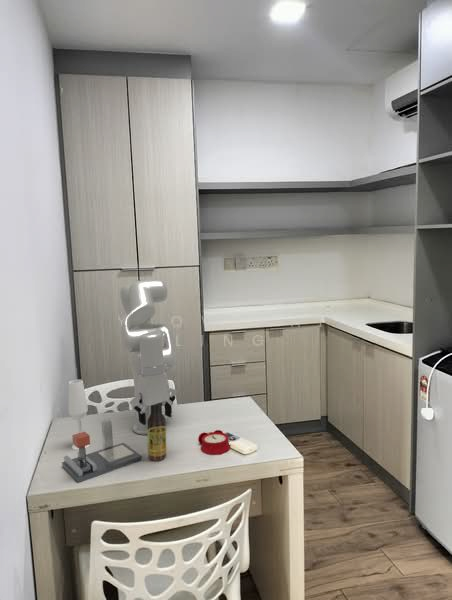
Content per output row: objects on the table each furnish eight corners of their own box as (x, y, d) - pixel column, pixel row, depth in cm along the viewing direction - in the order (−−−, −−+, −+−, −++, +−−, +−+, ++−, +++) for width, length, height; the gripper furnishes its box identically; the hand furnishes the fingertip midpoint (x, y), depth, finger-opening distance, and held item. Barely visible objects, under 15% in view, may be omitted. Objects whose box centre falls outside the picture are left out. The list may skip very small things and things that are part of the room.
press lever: (86, 464, 152) (84, 431, 151) (92, 469, 148) (90, 435, 147) (74, 468, 150) (71, 434, 148) (80, 473, 146) (77, 439, 144)
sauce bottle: (149, 463, 155) (145, 405, 152) (147, 455, 161) (143, 399, 158) (169, 459, 157) (165, 402, 154) (166, 451, 163) (162, 396, 160)
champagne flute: (89, 440, 175) (84, 377, 172) (91, 447, 169) (86, 382, 166) (70, 443, 173) (65, 380, 170) (72, 450, 167) (66, 385, 164)
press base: (123, 446, 168) (121, 415, 167) (142, 460, 157) (139, 427, 156) (62, 466, 155) (59, 433, 153) (78, 482, 144) (75, 447, 142)
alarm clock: (205, 448, 156) (194, 423, 169) (205, 464, 158) (194, 438, 172) (235, 443, 159) (221, 418, 173) (234, 458, 161) (221, 433, 175)
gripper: (169, 363, 163) (172, 410, 165) (123, 373, 153) (127, 423, 155) (180, 367, 157) (183, 416, 159) (134, 377, 147) (137, 430, 149)
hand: (155, 419), depth 157 cm, fingers open, 9 cm apart
